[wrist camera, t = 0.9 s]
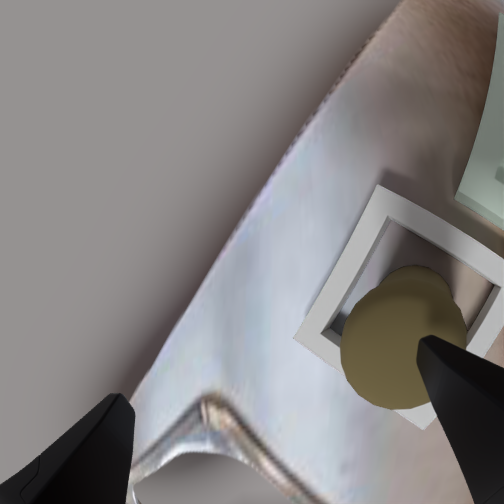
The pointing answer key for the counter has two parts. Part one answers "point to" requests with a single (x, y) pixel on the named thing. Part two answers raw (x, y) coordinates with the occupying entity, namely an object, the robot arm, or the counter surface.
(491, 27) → the counter surface
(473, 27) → the counter surface
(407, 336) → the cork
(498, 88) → the tray
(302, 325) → the collar block
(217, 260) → the counter surface
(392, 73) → the counter surface
